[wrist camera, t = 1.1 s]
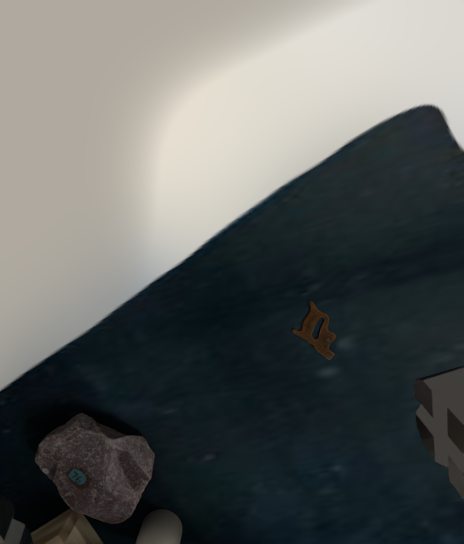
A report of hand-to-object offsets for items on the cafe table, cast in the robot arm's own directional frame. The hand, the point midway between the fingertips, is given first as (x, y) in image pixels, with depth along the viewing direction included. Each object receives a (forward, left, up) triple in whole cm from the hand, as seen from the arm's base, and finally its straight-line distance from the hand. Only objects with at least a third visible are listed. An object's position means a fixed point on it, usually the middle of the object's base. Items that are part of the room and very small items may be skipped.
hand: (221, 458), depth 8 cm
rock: (-9, +24, -42) cm, 50 cm away
